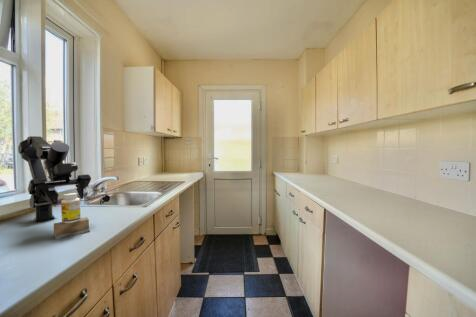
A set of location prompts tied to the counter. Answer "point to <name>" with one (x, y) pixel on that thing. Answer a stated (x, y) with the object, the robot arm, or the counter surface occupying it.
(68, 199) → the supplement bottle
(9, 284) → the counter surface
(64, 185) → the robot arm
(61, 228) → the block
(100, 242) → the counter surface
